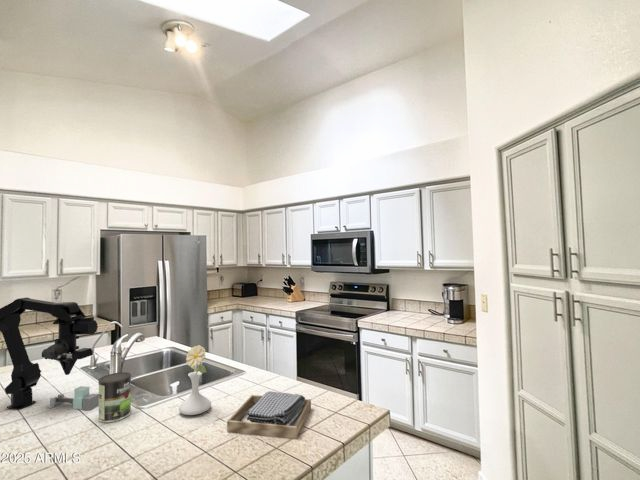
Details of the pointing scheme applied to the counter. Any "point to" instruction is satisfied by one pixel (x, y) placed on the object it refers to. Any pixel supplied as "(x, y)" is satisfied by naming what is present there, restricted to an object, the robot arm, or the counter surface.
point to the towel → (277, 409)
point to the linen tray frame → (262, 428)
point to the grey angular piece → (88, 401)
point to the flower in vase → (195, 384)
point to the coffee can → (114, 397)
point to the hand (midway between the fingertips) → (67, 374)
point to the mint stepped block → (80, 396)
